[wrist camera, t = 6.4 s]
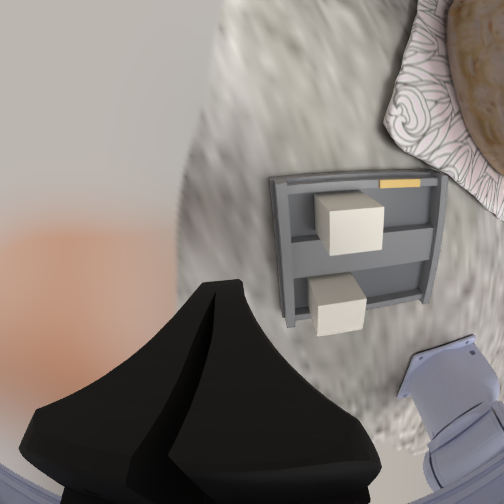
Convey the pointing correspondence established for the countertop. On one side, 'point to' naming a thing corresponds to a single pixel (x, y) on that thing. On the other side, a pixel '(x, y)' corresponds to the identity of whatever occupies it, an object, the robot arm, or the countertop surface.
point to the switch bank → (363, 263)
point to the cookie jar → (455, 95)
